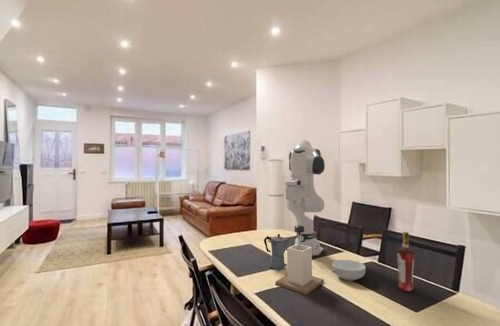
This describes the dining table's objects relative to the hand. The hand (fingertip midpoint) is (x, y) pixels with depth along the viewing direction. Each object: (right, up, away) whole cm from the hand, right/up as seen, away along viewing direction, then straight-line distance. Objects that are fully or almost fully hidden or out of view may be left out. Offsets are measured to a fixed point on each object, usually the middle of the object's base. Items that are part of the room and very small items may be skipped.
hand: (299, 207), depth 148 cm
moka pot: (-10, -39, +23) cm, 46 cm away
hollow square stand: (0, -39, 0) cm, 39 cm away
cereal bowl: (+28, -39, +7) cm, 49 cm away
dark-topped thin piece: (0, -26, 0) cm, 26 cm away
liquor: (+51, -39, -8) cm, 64 cm away
